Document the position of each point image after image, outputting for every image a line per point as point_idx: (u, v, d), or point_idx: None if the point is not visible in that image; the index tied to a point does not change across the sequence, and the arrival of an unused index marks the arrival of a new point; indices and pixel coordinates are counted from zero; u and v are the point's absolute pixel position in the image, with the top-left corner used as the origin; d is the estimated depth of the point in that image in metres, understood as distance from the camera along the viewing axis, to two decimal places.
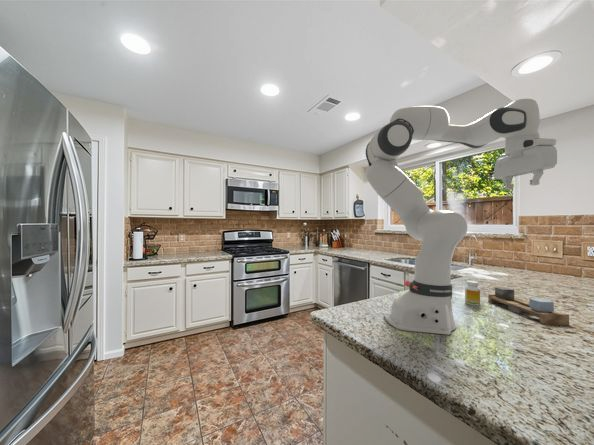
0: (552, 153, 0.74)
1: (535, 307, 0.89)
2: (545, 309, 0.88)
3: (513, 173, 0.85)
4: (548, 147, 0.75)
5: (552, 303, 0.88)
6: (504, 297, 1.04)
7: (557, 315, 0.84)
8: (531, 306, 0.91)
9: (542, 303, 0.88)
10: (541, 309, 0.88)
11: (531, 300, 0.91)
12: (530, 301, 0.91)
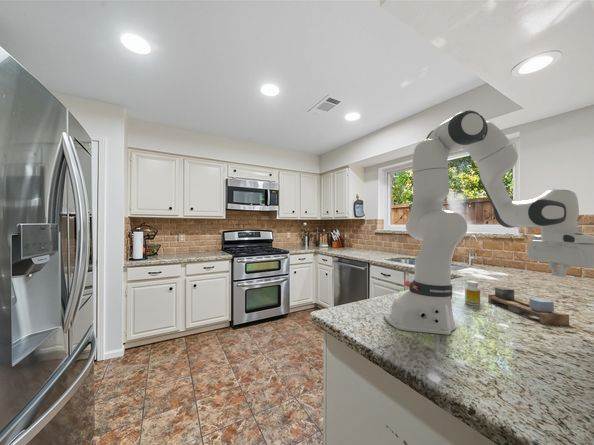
0: None
1: (535, 307, 0.89)
2: (545, 309, 0.88)
3: (550, 261, 0.85)
4: (590, 247, 0.75)
5: (552, 303, 0.88)
6: (504, 297, 1.04)
7: (557, 315, 0.84)
8: (531, 306, 0.91)
9: (542, 303, 0.88)
10: (541, 309, 0.88)
11: (531, 300, 0.91)
12: (530, 301, 0.91)
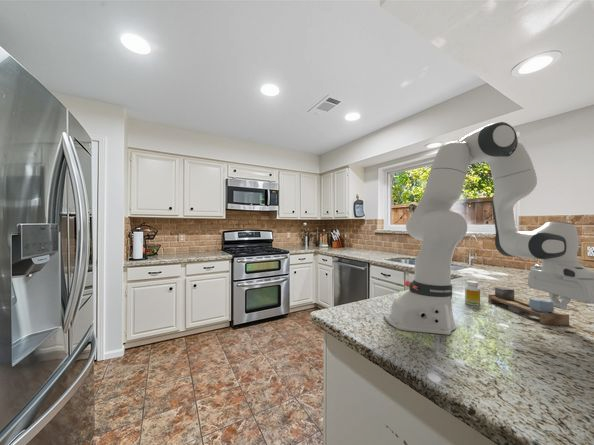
0: None
1: (535, 307, 0.89)
2: (545, 309, 0.88)
3: (551, 292, 0.85)
4: (591, 282, 0.75)
5: (552, 303, 0.88)
6: (504, 297, 1.04)
7: (557, 315, 0.84)
8: (531, 306, 0.91)
9: (542, 303, 0.88)
10: (541, 309, 0.88)
11: (531, 300, 0.91)
12: (530, 301, 0.91)
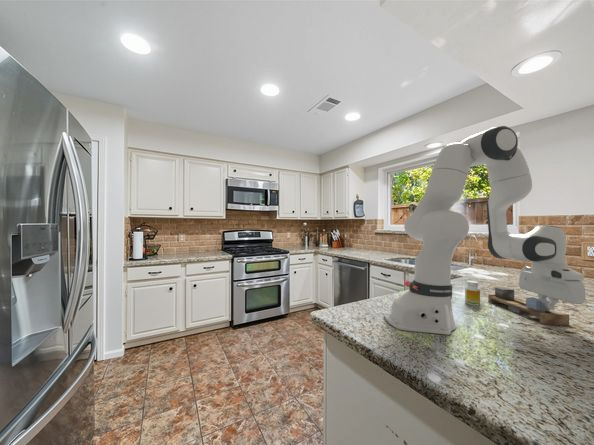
0: (581, 290, 0.78)
1: (532, 306, 0.91)
2: (541, 308, 0.89)
3: (540, 293, 0.88)
4: (576, 284, 0.78)
5: (548, 302, 0.89)
6: (504, 297, 1.04)
7: (557, 315, 0.84)
8: (527, 305, 0.92)
9: (538, 302, 0.89)
10: (537, 308, 0.89)
11: (528, 299, 0.92)
12: (527, 300, 0.92)
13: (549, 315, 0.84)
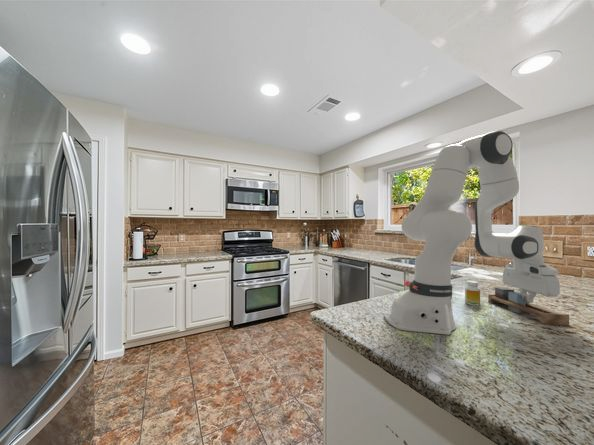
0: (555, 284, 0.85)
1: (513, 299, 0.98)
2: (522, 301, 0.97)
3: (520, 287, 0.96)
4: (552, 278, 0.86)
5: None
6: (504, 297, 1.04)
7: (557, 315, 0.84)
8: (510, 298, 1.00)
9: (519, 296, 0.97)
10: (518, 301, 0.97)
11: (510, 293, 1.00)
12: (509, 294, 1.00)
13: (549, 315, 0.84)
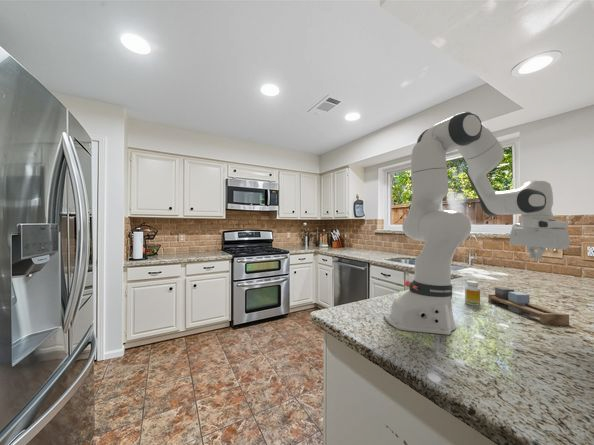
0: (565, 236, 0.84)
1: (513, 299, 0.98)
2: (522, 301, 0.97)
3: (528, 245, 0.95)
4: (561, 231, 0.84)
5: (528, 296, 0.97)
6: (504, 297, 1.04)
7: (557, 315, 0.84)
8: (509, 298, 1.00)
9: (519, 296, 0.97)
10: (518, 301, 0.97)
11: (510, 293, 1.00)
12: (509, 294, 1.00)
13: (549, 315, 0.84)
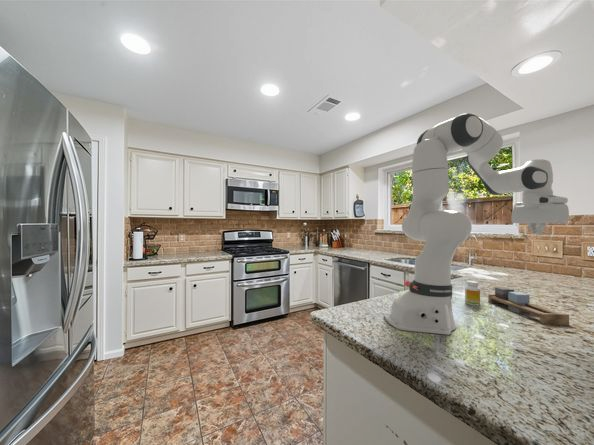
0: (565, 210, 0.88)
1: (513, 299, 0.98)
2: (522, 301, 0.97)
3: (529, 222, 0.99)
4: (561, 205, 0.89)
5: (528, 296, 0.97)
6: (504, 297, 1.04)
7: (557, 315, 0.84)
8: (509, 298, 1.00)
9: (519, 296, 0.97)
10: (518, 301, 0.97)
11: (510, 293, 1.00)
12: (509, 294, 1.00)
13: (549, 315, 0.84)
